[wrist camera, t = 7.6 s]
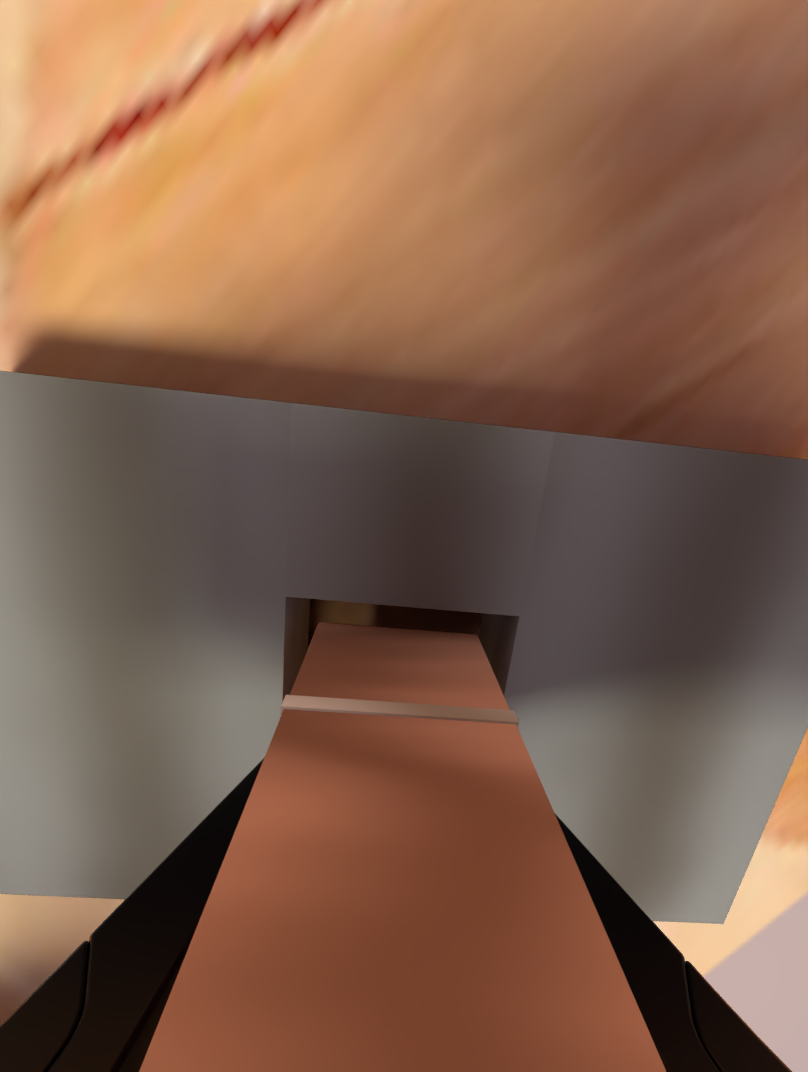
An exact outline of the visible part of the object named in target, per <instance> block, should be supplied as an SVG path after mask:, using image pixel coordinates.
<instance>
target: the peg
mask: <svg viewBox="0 0 808 1072" xmlns="http://www.w3.org/2000/svg"><path fill="white" fill-rule="evenodd" d="M518 726H519V720H518V718H517V716H516V713H515V711H514V710H510V709H509V707H508V705H507V702H506V700H505V698H504V695H503V693H502V691H501V688H500V686H499V684H498V681H497V679H496V677H495V675H494V672H493V670H492V668H491V665H490V663H489V661H488V658H487V656H486V654H485V651H484V649H483V647H482V645H481V642H480V640H479V638H478V635H475V634H463V633H450V632H437V631H425V630H412V629H399V628H387V627H374V626H361V625H349V624H336V623H323V622H318V625H317V627H316V630H315V632H314V635H313V637H312V640H311V642H310V645H309V647H308V650H307V652H306V655H305V658H304V660H303V663H302V665H301V668H300V670H299V673H298V675H297V678H296V680H295V683H294V685H293V688H292V690H291V693H290V695H285V698H284V700H283V703H282V705H281V718H280V720H279V723H278V725H277V728H276V730H275V733H274V735H273V738H272V740H271V743H270V745H269V748H268V750H267V753H266V755H265V758H264V760H263V763H262V765H261V768H260V770H259V773H258V775H257V778H256V780H255V783H254V785H253V788H252V790H251V793H250V795H249V798H248V800H247V803H246V805H245V808H244V810H243V813H242V815H241V818H240V820H239V823H238V825H237V828H236V830H235V833H234V835H233V838H232V840H231V843H230V845H229V848H228V850H227V853H226V855H225V858H224V860H223V863H222V865H221V868H220V870H219V873H218V875H217V878H216V880H215V883H214V885H213V888H212V890H211V893H210V895H209V898H208V900H207V903H206V905H205V908H204V910H203V913H202V915H201V918H200V920H199V923H198V925H197V928H196V930H195V933H194V935H193V938H192V940H191V943H190V945H189V948H188V950H187V953H186V955H185V958H184V960H183V963H182V965H181V968H180V970H179V973H178V975H177V978H176V980H175V983H174V985H173V988H172V990H171V993H170V995H169V998H168V1000H167V1003H166V1005H165V1008H164V1010H163V1013H162V1016H161V1018H160V1021H159V1023H158V1026H157V1028H156V1031H155V1033H154V1036H153V1038H152V1041H151V1043H150V1046H149V1048H148V1051H147V1053H146V1056H145V1058H144V1061H143V1063H142V1066H141V1068H140V1071H139V1072H666V1070H665V1067H664V1065H663V1063H662V1060H661V1058H660V1056H659V1053H658V1051H657V1049H656V1047H655V1044H654V1042H653V1040H652V1037H651V1035H650V1033H649V1030H648V1028H647V1026H646V1023H645V1021H644V1019H643V1017H642V1014H641V1012H640V1010H639V1007H638V1005H637V1003H636V1000H635V998H634V996H633V993H632V991H631V989H630V986H629V984H628V982H627V980H626V977H625V975H624V973H623V970H622V968H621V966H620V963H619V961H618V959H617V956H616V954H615V952H614V949H613V947H612V945H611V943H610V940H609V938H608V936H607V933H606V931H605V929H604V926H603V924H602V922H601V919H600V917H599V915H598V913H597V910H596V908H595V906H594V903H593V901H592V899H591V896H590V894H589V892H588V889H587V887H586V885H585V882H584V880H583V878H582V876H581V873H580V871H579V869H578V866H577V864H576V862H575V859H574V857H573V855H572V852H571V850H570V848H569V846H568V843H567V841H566V839H565V836H564V834H563V832H562V829H561V827H560V825H559V822H558V820H557V818H556V815H555V813H554V811H553V809H552V806H551V804H550V802H549V799H548V797H547V795H546V792H545V790H544V788H543V785H542V783H541V781H540V779H539V776H538V774H537V772H536V769H535V767H534V765H533V762H532V760H531V758H530V755H529V753H528V751H527V748H526V746H525V744H524V742H523V739H522V737H521V735H520V732H519V730H518Z"/></svg>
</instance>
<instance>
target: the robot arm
mask: <svg viewBox="0 0 808 1072" xmlns="http://www.w3.org/2000/svg"><path fill="white" fill-rule="evenodd" d="M264 758H265V757H264ZM264 758H263V759H262V760H261V761H260V762H259V763H258V764H257V765H256V766H255V767H254V768H253V769H252V770H251V772H250V773H249V774H248V775H247V776H246V777H245V778H244V779H243V780H242V781H241V782H240V783H239V784H238V785H237V786H236V787H235V788H234V789H233V790H232V791H231V792H230V793H229V794H228V795H227V796H226V797H225V798H224V799H223V800H222V801H221V802H220V803H219V804H218V805H217V806H216V807H215V808H214V809H213V810H212V811H211V812H210V813H209V815H208V816H207V817H206V818H205V819H204V820H203V821H202V822H201V823H200V824H199V825H198V826H197V827H196V828H195V829H194V830H193V831H192V832H191V833H190V834H189V835H188V836H187V837H186V838H185V839H184V840H183V841H182V842H181V843H180V844H179V845H178V846H177V847H176V848H175V849H174V850H173V851H172V852H171V853H170V854H169V855H168V856H167V857H166V859H165V860H164V861H163V862H162V863H161V864H160V865H159V866H158V867H157V868H156V869H155V870H154V871H153V872H152V873H151V874H150V875H149V876H148V877H147V878H146V879H145V880H144V881H143V882H142V883H141V884H140V885H139V886H138V887H137V888H136V889H135V890H134V891H133V892H132V893H131V894H130V895H129V896H128V897H127V898H126V899H125V900H124V901H123V903H122V904H121V905H120V906H119V907H118V908H117V909H116V910H115V911H114V912H113V913H112V914H111V915H110V916H109V917H108V918H107V919H106V920H105V921H104V922H103V923H102V924H101V925H100V926H99V927H98V928H97V929H96V930H95V931H94V932H93V933H92V934H91V936H90V939H89V942H88V941H85V942H83V943H82V944H81V945H80V946H79V947H78V948H77V949H76V950H75V951H74V952H73V953H72V954H71V955H70V956H69V957H68V958H67V960H66V961H65V962H64V963H63V964H62V965H61V966H60V967H59V968H58V969H57V970H56V971H55V972H54V973H53V974H52V975H51V976H50V977H49V978H48V979H47V980H46V981H45V982H44V983H43V984H42V985H41V986H40V987H39V988H38V989H37V990H36V991H35V992H34V993H33V994H32V995H31V996H30V997H29V998H28V999H27V1000H26V1001H24V1002H23V1003H22V1004H21V1005H20V1006H19V1007H18V1008H17V1009H16V1010H15V1011H14V1012H13V1013H12V1014H11V1015H10V1016H9V1017H8V1018H7V1019H6V1020H5V1021H4V1022H3V1023H2V1024H1V1025H0V1072H139V1071H140V1068H141V1066H142V1063H143V1061H144V1058H145V1056H146V1053H147V1051H148V1048H149V1046H150V1043H151V1041H152V1038H153V1036H154V1033H155V1031H156V1028H157V1026H158V1023H159V1021H160V1018H161V1016H162V1013H163V1010H164V1008H165V1005H166V1003H167V1000H168V998H169V995H170V993H171V990H172V988H173V985H174V983H175V980H176V978H177V975H178V973H179V970H180V968H181V965H182V963H183V960H184V958H185V955H186V953H187V950H188V948H189V945H190V943H191V940H192V938H193V935H194V933H195V930H196V928H197V925H198V923H199V920H200V918H201V915H202V913H203V910H204V908H205V905H206V903H207V900H208V898H209V895H210V893H211V890H212V888H213V885H214V883H215V880H216V878H217V875H218V873H219V870H220V868H221V865H222V863H223V860H224V858H225V855H226V853H227V850H228V848H229V845H230V843H231V840H232V838H233V835H234V833H235V830H236V828H237V825H238V823H239V820H240V818H241V815H242V813H243V810H244V808H245V805H246V803H247V800H248V798H249V795H250V793H251V790H252V788H253V785H254V783H255V780H256V778H257V775H258V773H259V770H260V768H261V765H262V763H263V760H264ZM555 815H556V814H555ZM556 818H557V820H558V822H559V825H560V827H561V829H562V832H563V834H564V836H565V839H566V841H567V843H568V846H569V848H570V850H571V852H572V855H573V857H574V859H575V862H576V864H577V866H578V869H579V871H580V873H581V876H582V878H583V880H584V882H585V885H586V887H587V889H588V892H589V894H590V896H591V899H592V901H593V903H594V906H595V908H596V910H597V913H598V915H599V917H600V919H601V922H602V924H603V926H604V929H605V931H606V933H607V936H608V938H609V940H610V943H611V945H612V947H613V949H614V952H615V954H616V956H617V959H618V961H619V963H620V966H621V968H622V970H623V973H624V975H625V977H626V980H627V982H628V984H629V986H630V989H631V991H632V993H633V996H634V998H635V1000H636V1003H637V1005H638V1007H639V1010H640V1012H641V1014H642V1017H643V1019H644V1021H645V1023H646V1026H647V1028H648V1030H649V1033H650V1035H651V1037H652V1040H653V1042H654V1044H655V1047H656V1049H657V1051H658V1053H659V1056H660V1058H661V1060H662V1063H663V1065H664V1067H665V1070H666V1072H792V1071H791V1070H790V1069H789V1068H788V1067H787V1066H786V1065H785V1064H784V1063H783V1062H782V1061H781V1060H780V1059H779V1058H778V1057H777V1056H776V1055H775V1054H774V1053H773V1052H772V1050H771V1049H769V1047H768V1046H767V1045H766V1044H765V1043H764V1042H763V1041H762V1040H761V1039H760V1038H759V1037H758V1036H757V1035H756V1034H755V1033H754V1032H753V1031H752V1030H751V1028H750V1027H749V1026H748V1025H747V1024H746V1023H745V1022H744V1021H743V1020H742V1019H741V1018H740V1017H739V1015H738V1014H737V1013H736V1012H735V1011H734V1010H733V1009H732V1008H731V1007H730V1006H729V1005H728V1004H727V1003H726V1001H725V1000H724V999H722V997H721V996H720V995H719V994H718V993H717V992H716V991H715V990H714V989H713V988H712V986H711V985H710V984H709V983H708V982H707V981H706V980H705V979H704V977H703V976H702V975H701V974H700V973H699V972H698V971H697V970H696V969H695V967H694V966H693V965H692V964H691V963H690V962H688V961H685V959H684V956H683V955H682V953H681V952H680V951H679V950H678V949H677V948H676V947H675V946H674V944H673V943H672V942H671V941H670V940H669V939H668V938H667V937H666V936H665V934H664V933H663V932H662V931H661V930H660V929H659V928H658V927H657V926H656V924H655V923H654V922H653V921H652V920H651V919H650V918H649V917H648V916H647V914H646V913H645V912H644V911H643V910H642V909H641V908H640V907H639V906H638V905H637V903H636V902H635V901H634V900H633V899H632V898H631V897H630V896H629V895H628V893H627V892H626V891H625V890H624V889H623V888H622V887H621V886H620V885H619V883H618V882H617V881H616V880H615V879H614V878H613V877H612V876H611V875H610V873H609V872H608V871H607V870H606V869H605V868H604V867H603V866H602V865H601V863H600V862H599V861H598V860H597V859H596V858H595V857H594V856H593V855H592V854H591V852H590V851H589V850H588V849H587V848H586V847H585V846H584V845H583V844H582V842H581V841H580V840H579V839H578V838H577V837H576V836H575V835H574V834H573V832H572V831H571V830H570V829H569V828H568V827H567V826H566V825H565V824H564V822H563V821H562V820H561V819H560V818H559V817H558V816H557V815H556Z"/></svg>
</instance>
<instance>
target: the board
mask: <svg viewBox="0 0 808 1072" xmlns="http://www.w3.org/2000/svg"><path fill="white" fill-rule="evenodd" d="M310 599H319V600H330V601H342V602H354V603H366V604H378V605H390V606H402V607H414V608H426V609H438V610H450V611H462V612H474V613H482V617H481V623H480V629H479V635H478V638H479V640H480V642H481V645H482V647H483V649H484V651H485V654H486V656H487V658H488V661H489V663H490V665H491V668H492V670H493V672H494V675H495V677H496V679H497V681H498V684H499V686H500V688H501V691H502V693H503V695H504V698H505V700H506V702H507V705H508V707H509V709H510V710H514V711H515V713H516V716H517V718H518V720H519V726H518V730H519V732H520V735H521V737H522V739H523V742H524V744H525V746H526V748H527V751H528V753H529V755H530V758H531V760H532V762H533V765H534V767H535V769H536V772H537V774H538V776H539V779H540V781H541V783H542V785H543V788H544V790H545V792H546V795H547V797H548V799H549V802H550V804H551V806H552V809H553V811H554V813H555V814H556V815H557V816H558V817H559V818H560V819H561V820H562V821H563V822H564V824H565V825H566V826H567V827H568V828H569V829H570V830H571V831H572V832H573V834H574V835H575V836H576V837H577V838H578V839H579V840H580V841H581V842H582V844H583V845H584V846H585V847H586V848H587V849H588V850H589V851H590V852H591V854H592V855H593V856H594V857H595V858H596V859H597V860H598V861H599V862H600V863H601V865H602V866H603V867H604V868H605V869H606V870H607V871H608V872H609V873H610V875H611V876H612V877H613V878H614V879H615V880H616V881H617V882H618V883H619V885H620V886H621V887H622V888H623V889H624V890H625V891H626V892H627V893H628V895H629V896H630V897H631V898H632V899H633V900H634V901H635V902H636V903H637V905H638V906H639V907H640V908H641V909H642V910H643V911H644V912H645V913H646V914H647V916H648V917H649V918H650V919H651V920H652V921H667V922H691V923H715V924H724V921H725V919H726V917H727V914H728V912H729V910H730V907H731V905H732V903H733V900H734V898H735V896H736V893H737V891H738V889H739V886H740V884H741V882H742V879H743V877H744V875H745V872H746V870H747V868H748V865H749V863H750V861H751V858H752V856H753V854H754V851H755V849H756V847H757V844H758V842H759V840H760V837H761V835H762V833H763V830H764V828H765V826H766V823H767V821H768V819H769V816H770V814H771V812H772V809H773V807H774V805H775V802H776V800H777V798H778V795H779V793H780V791H781V788H782V786H783V784H784V781H785V779H786V777H787V774H788V772H789V770H790V767H791V765H792V763H793V760H794V758H795V756H796V753H797V751H798V749H799V747H800V744H801V742H802V740H803V737H804V735H805V733H806V730H807V728H808V460H806V459H796V458H787V457H778V456H769V455H760V454H751V453H742V452H733V451H724V450H715V449H706V448H697V447H688V446H679V445H669V444H660V443H651V442H642V441H633V440H624V439H615V438H606V437H597V436H588V435H579V434H570V433H561V432H552V431H543V430H533V429H524V428H515V427H506V426H497V425H488V424H479V423H470V422H461V421H452V420H443V419H434V418H425V417H416V416H407V415H397V414H388V413H379V412H370V411H361V410H352V409H343V408H334V407H325V406H316V405H307V404H298V403H289V402H280V401H271V400H261V399H252V398H243V397H234V396H225V395H216V394H207V393H198V392H189V391H180V390H171V389H162V388H153V387H144V386H134V385H125V384H116V383H107V382H98V381H89V380H80V379H71V378H62V377H53V376H44V375H35V374H26V373H17V372H8V371H0V894H13V895H37V896H61V897H85V898H110V899H126V898H127V897H128V896H129V895H130V894H131V893H132V892H133V891H134V890H135V889H136V888H137V887H138V886H139V885H140V884H141V883H142V882H143V881H144V880H145V879H146V878H147V877H148V876H149V875H150V874H151V873H152V872H153V871H154V870H155V869H156V868H157V867H158V866H159V865H160V864H161V863H162V862H163V861H164V860H165V859H166V857H167V856H168V855H169V854H170V853H171V852H172V851H173V850H174V849H175V848H176V847H177V846H178V845H179V844H180V843H181V842H182V841H183V840H184V839H185V838H186V837H187V836H188V835H189V834H190V833H191V832H192V831H193V830H194V829H195V828H196V827H197V826H198V825H199V824H200V823H201V822H202V821H203V820H204V819H205V818H206V817H207V816H208V815H209V813H210V812H211V811H212V810H213V809H214V808H215V807H216V806H217V805H218V804H219V803H220V802H221V801H222V800H223V799H224V798H225V797H226V796H227V795H228V794H229V793H230V792H231V791H232V790H233V789H234V788H235V787H236V786H237V785H238V784H239V783H240V782H241V781H242V780H243V779H244V778H245V777H246V776H247V775H248V774H249V773H250V772H251V770H252V769H253V768H254V767H255V766H256V765H257V764H258V763H259V762H260V761H261V760H262V759H263V758H264V757H265V755H266V753H267V750H268V748H269V745H270V743H271V740H272V738H273V735H274V733H275V730H276V728H277V725H278V723H279V720H280V718H281V705H282V703H283V700H284V698H285V695H290V693H291V690H292V688H293V685H294V683H295V680H296V678H297V675H298V673H299V670H300V668H301V665H302V663H303V660H304V658H305V655H306V652H307V650H308V634H309V612H310Z"/></svg>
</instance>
